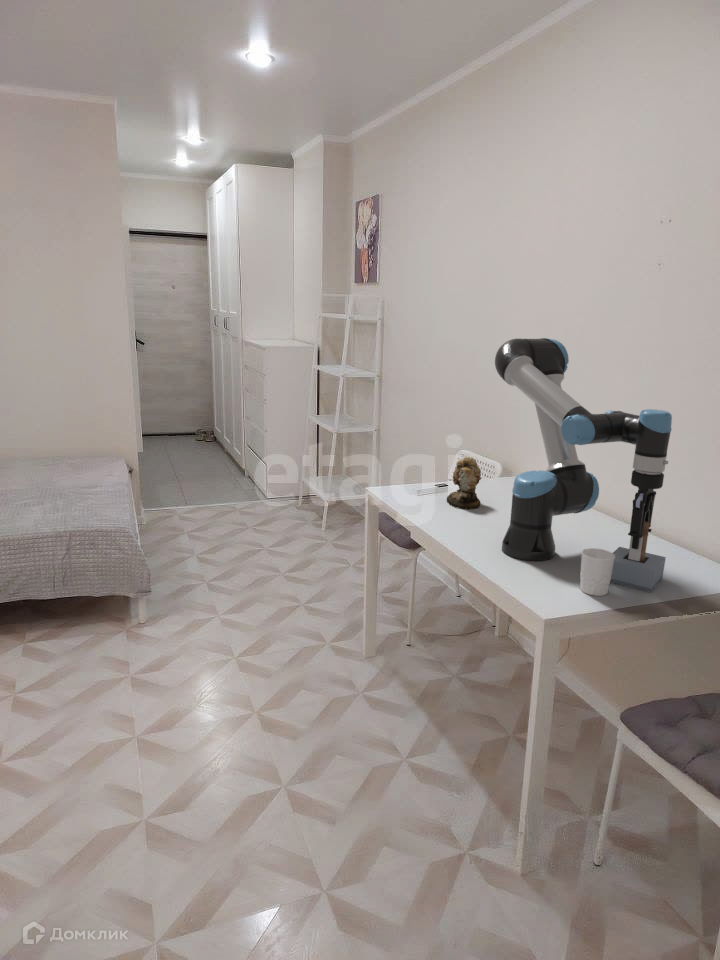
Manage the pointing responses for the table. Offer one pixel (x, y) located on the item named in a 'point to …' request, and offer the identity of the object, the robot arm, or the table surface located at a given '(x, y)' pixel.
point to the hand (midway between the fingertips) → (636, 557)
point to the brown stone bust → (465, 484)
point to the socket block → (637, 570)
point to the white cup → (596, 571)
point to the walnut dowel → (643, 542)
